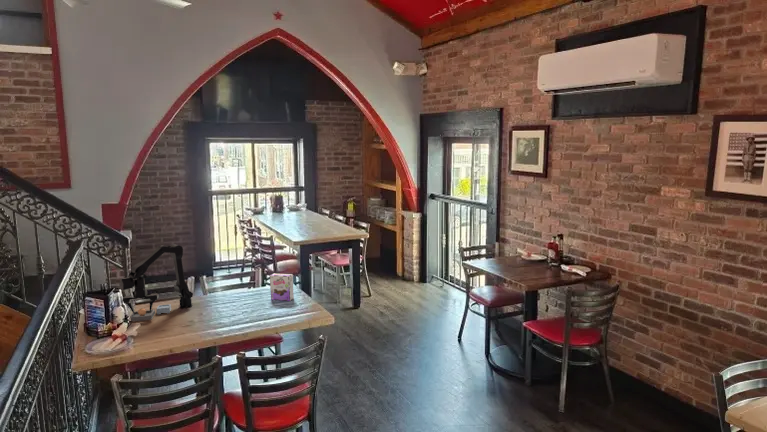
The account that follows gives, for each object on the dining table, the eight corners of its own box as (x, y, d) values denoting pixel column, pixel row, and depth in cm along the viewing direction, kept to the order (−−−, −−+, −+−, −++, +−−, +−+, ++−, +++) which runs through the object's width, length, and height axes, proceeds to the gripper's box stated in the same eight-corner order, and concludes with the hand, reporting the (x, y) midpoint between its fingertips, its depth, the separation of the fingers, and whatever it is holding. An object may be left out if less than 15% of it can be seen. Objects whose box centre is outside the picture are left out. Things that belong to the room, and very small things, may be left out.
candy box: (270, 300, 339) (269, 275, 337) (275, 297, 345) (273, 272, 343) (290, 301, 335) (288, 276, 333) (294, 298, 341) (292, 273, 339)
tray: (155, 313, 318) (154, 309, 318) (151, 319, 307) (151, 315, 307) (133, 315, 315) (133, 311, 315) (129, 321, 304) (129, 317, 304)
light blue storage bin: (171, 309, 325) (170, 304, 324) (169, 313, 318) (169, 307, 318) (158, 310, 323) (158, 305, 323) (156, 314, 316) (156, 308, 316)
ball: (147, 314, 314) (146, 306, 313) (145, 316, 309) (145, 309, 309) (139, 314, 313) (138, 307, 312) (137, 317, 308) (137, 309, 308)
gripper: (158, 281, 319) (161, 306, 321) (125, 284, 314) (127, 310, 316) (155, 286, 308) (158, 312, 310) (121, 289, 303) (123, 315, 306)
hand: (142, 312), depth 311 cm, fingers open, 9 cm apart
